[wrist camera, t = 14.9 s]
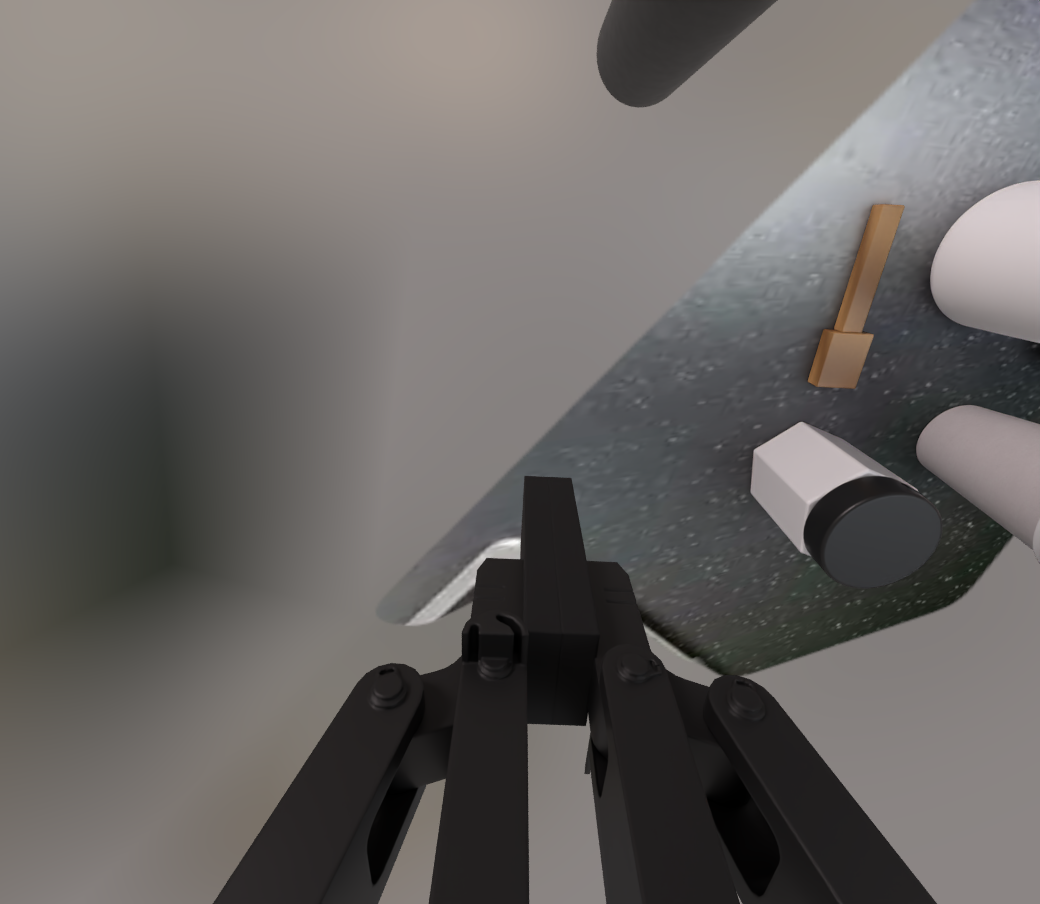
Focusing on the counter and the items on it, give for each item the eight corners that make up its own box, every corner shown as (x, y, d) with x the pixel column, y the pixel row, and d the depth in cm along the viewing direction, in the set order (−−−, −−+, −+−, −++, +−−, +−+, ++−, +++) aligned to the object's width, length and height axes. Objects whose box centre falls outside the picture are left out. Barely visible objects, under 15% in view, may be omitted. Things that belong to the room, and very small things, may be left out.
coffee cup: (941, 503, 46) (1115, 620, 33) (875, 452, 44) (1032, 554, 30) (1036, 426, 43) (1274, 520, 29) (969, 366, 41) (1193, 438, 27)
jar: (834, 502, 46) (929, 588, 35) (746, 512, 47) (814, 599, 36) (848, 415, 42) (960, 480, 32) (753, 426, 43) (830, 494, 32)
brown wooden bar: (861, 204, 36) (875, 203, 34) (905, 206, 36) (920, 205, 34) (807, 381, 41) (816, 386, 40) (844, 383, 41) (855, 388, 40)
